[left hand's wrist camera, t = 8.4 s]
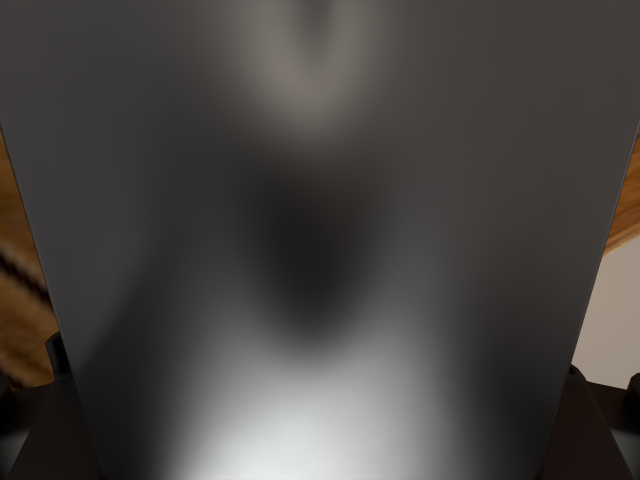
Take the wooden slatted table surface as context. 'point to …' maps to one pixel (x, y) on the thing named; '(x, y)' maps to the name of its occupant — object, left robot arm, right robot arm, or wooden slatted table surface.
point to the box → (320, 223)
